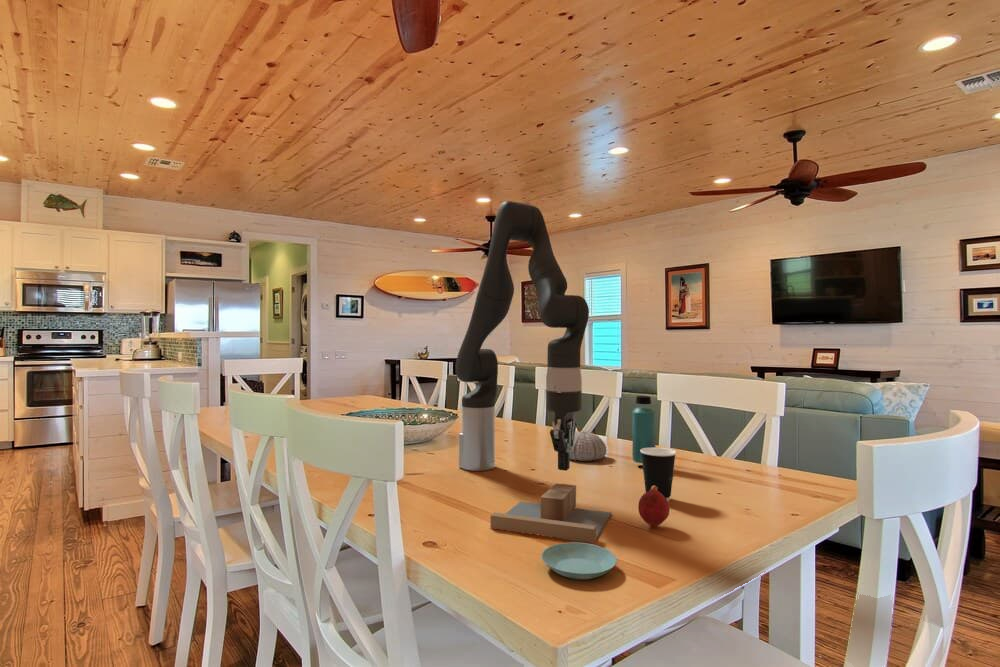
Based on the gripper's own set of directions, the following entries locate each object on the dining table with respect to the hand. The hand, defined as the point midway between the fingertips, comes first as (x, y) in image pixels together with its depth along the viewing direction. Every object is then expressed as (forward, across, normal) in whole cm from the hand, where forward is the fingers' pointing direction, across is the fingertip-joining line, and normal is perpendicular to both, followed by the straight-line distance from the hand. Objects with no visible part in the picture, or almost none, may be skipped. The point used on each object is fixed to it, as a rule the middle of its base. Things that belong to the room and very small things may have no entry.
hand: (563, 469), depth 116 cm
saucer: (+9, +28, +10) cm, 31 cm away
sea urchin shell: (+9, -50, -7) cm, 51 cm away
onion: (+9, +4, +19) cm, 21 cm away
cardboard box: (+6, -2, 0) cm, 6 cm away
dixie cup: (+9, -15, +18) cm, 25 cm away
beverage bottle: (+9, -46, +11) cm, 48 cm away
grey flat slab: (+8, +7, 0) cm, 11 cm away
